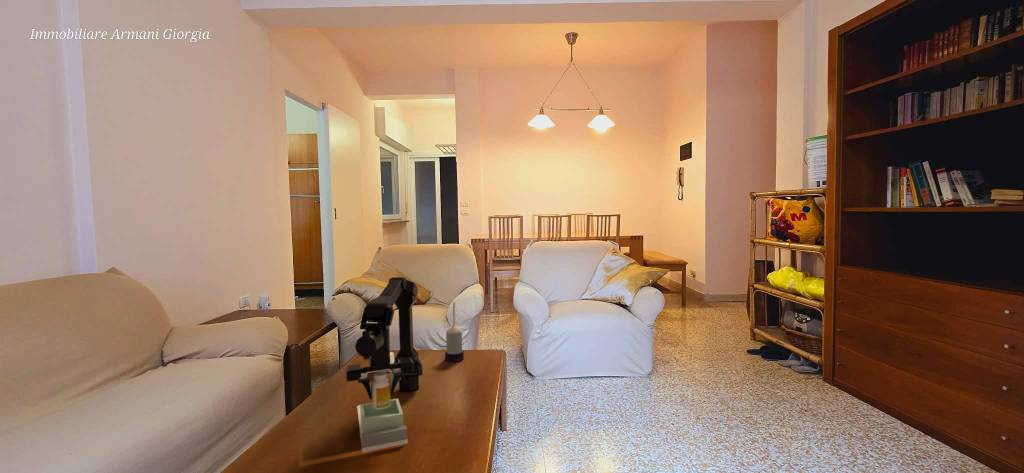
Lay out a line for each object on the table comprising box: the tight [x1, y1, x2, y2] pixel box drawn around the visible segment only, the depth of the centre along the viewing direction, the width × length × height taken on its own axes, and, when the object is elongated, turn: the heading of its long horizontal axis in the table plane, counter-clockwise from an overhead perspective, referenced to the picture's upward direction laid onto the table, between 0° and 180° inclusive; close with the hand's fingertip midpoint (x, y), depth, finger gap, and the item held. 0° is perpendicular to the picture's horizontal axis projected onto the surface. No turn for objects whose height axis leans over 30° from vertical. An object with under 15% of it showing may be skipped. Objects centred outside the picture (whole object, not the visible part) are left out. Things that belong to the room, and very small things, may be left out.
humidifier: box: [444, 302, 465, 363], centre depth 189 cm, size 8×8×25 cm
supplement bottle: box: [370, 371, 392, 410], centre depth 127 cm, size 5×5×10 cm
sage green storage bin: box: [359, 398, 404, 433], centre depth 128 cm, size 11×11×6 cm
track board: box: [356, 404, 408, 454], centre depth 132 cm, size 12×28×4 cm, turn 22°
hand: (381, 397), depth 128 cm, fingers closed on supplement bottle, 5 cm apart
